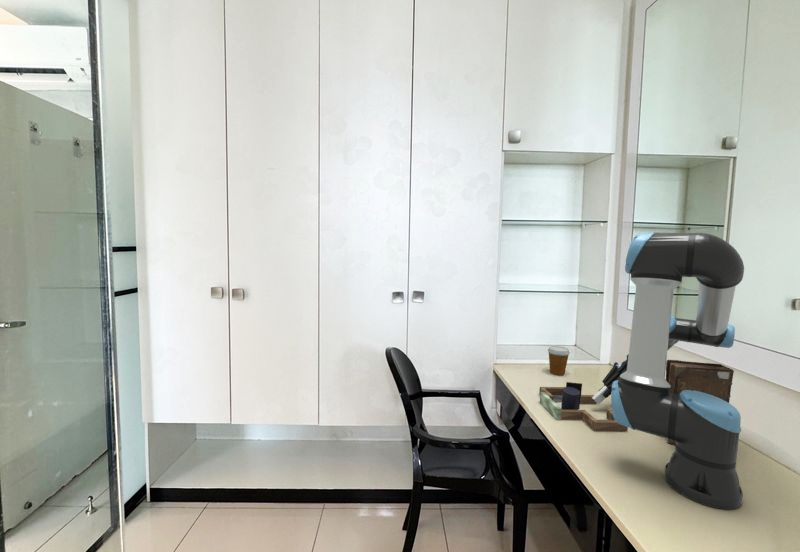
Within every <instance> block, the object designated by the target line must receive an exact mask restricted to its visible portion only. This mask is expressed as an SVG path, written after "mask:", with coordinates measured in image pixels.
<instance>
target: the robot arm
mask: <svg viewBox="0 0 800 552" xmlns="http://www.w3.org/2000/svg"><path fill="white" fill-rule="evenodd" d="M624 271H625V273H626V274H628V275H630V281H631V282H632V283H633V284H634V285H635V294H634V303H633V310H632V312H633V313H632V322H631V329H630V330H631V331H630V338H629V348H628V354H627V355H626V359H625V360H623V361H622V362H620V363H618V362H617V361H616V362H614V363H613V366H612V367H611V369H610V370H609V372H608V373H607V374H606V376H605V377H604V378H603V380H602V383H603V386H602V387H601V388H599V389H598V391H597V392H596V393H595V394H593V395H594V396H593V397H592V398H593V400H594V401H595V402H596V403H597V405H600V404H602V402H603V401H604V400H606V399H607V398H609V397H610V404H611V410H612V414H613V417H614V419H615V421H616V422H617V423H618V424H620V425H623V426H626V427H628V428H629V429H631V430H633V431H639V432H643V433H646V434H650V435H652V436H656V437H660V438H664V439H666V440H667V439H669V440H673V441H676V444H675V449H674V451H673V453H672V454H671V456H670V459H669V461H668V462H667V463H666V465H665V467H664V475H663V478H664V480H665V481H666V483H667V485H669V486H670V487H671V488H672V489H673V490H674V491H676V492H677V493H679V494H681V495H682V496H684V497H685V498H688V499H689V500H691V501H694V502H696V503H699V504H702V505H704V506H707V507H711V508H716V509H722V510H735V509H739V508H740V507H741V506H742V504H743V497H744V494H743V490H742V487H741V485H740V480H739V475H738V473H737V469H736V468H737V460H738V458H737V457H738V450H739V449H738V448H739V440H740V439H739V438H740V433H742V428H741V423H742V422H741V421H742V420H741V416H742V415H741V413H740V411H739V410H738V409H737V408H736V407H735V406H734V405H732V404H731V403H730V402H729V403H728V402H726V401H724V400H722V399H720V398H717V397H715V396H712V395H709V394H706V393H703V392H699V391H691V390H683V391H682V392H681V393H680V395H676V394H672V393H670V390H671V385H670V384H669V383H668V382H667V381H666V362H667V360H668V359H667V358H668V351H669V350H670V349H671V348H672V347H674V345H676V344H677V343H678V342H685V343H693V344H698V345H705V346H709V347H715V348H726V349H729V348H732V347H733V346H734V342H735V341H734V340H735V333H736V332H735V331H736V330H735V329H736V328H735V326H734V325H732V324H729V321H730V316H731V311H732V308H733V302H734V298H735V297H734V296H735V291H736V287H737V286H738V285H739V284H740V283H741V282H742V281H743V277H744V274H745V265H744V261H743V259H742V256H741V255H740V254H739V252H738V251H737V250H736V248H735V247H734V246H733V245H732V244H730V243H729V242H728V241H727V240H724V239H723V238H721V237H719V236H717V235H713V234H711V233H706V232H659V231H657V232H656V231H655V232H654V231H653V232H648V233H647V232H646V233H637V234H636V235H635V236H634V237H632V240H631V242H630V244H629V248H628V250H627V253H626V257H625V265H624ZM683 278H695V279H696V281H697V282H698V284H699V285H698V286H699V287H698V294H697V295H698V297H697V308H696V318H695V319H688V318H687V319H686V318H679V317H675V316H674V315H672V313H673V312H672V310H673V302H674V300H673V299H674V291H675V289H676V288H677V287H679V286H681V285H682V284H683Z"/></svg>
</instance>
